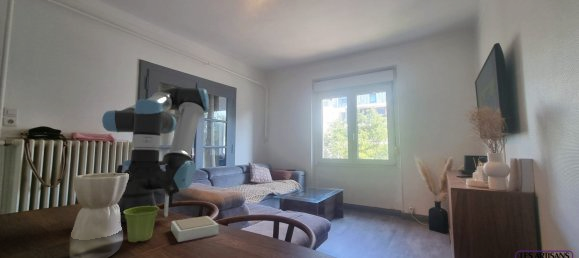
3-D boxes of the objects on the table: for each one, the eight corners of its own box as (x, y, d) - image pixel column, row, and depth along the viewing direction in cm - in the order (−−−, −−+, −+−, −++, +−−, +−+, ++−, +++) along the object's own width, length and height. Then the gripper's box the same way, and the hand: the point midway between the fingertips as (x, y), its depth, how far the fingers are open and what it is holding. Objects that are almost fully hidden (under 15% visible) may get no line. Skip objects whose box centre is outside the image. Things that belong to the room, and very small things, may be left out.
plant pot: (164, 235, 76) (166, 207, 76) (138, 246, 66) (140, 215, 67) (141, 232, 78) (143, 205, 79) (113, 242, 69) (115, 212, 70)
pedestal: (171, 230, 80) (171, 220, 80) (207, 224, 87) (207, 215, 87) (178, 242, 70) (178, 230, 70) (218, 234, 77) (218, 223, 77)
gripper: (93, 148, 64) (85, 229, 62) (190, 149, 79) (187, 215, 76) (95, 148, 70) (88, 222, 68) (185, 149, 85) (182, 211, 83)
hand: (140, 219), depth 72 cm, fingers open, 13 cm apart
